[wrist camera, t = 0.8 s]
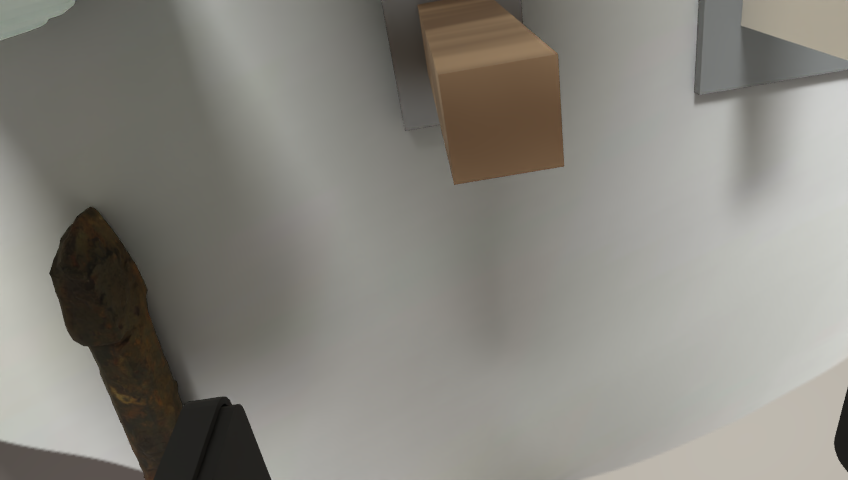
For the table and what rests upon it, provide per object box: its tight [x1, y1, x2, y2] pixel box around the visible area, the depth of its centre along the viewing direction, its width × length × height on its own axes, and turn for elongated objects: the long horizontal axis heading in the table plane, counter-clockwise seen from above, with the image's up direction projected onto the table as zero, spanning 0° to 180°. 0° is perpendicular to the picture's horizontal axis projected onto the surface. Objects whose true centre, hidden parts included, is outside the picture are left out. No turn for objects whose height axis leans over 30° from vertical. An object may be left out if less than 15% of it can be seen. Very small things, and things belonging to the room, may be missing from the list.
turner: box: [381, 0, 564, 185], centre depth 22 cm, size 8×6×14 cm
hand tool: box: [49, 206, 183, 480], centre depth 35 cm, size 19×4×5 cm, turn 2°
